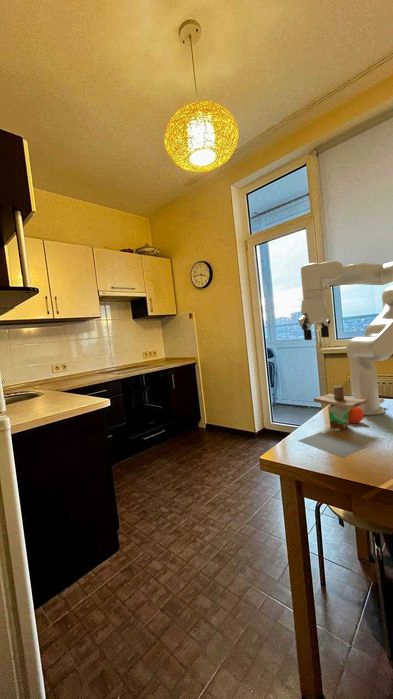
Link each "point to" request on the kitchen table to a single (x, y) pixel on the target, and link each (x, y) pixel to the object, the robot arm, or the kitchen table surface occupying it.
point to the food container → (337, 418)
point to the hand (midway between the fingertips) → (316, 338)
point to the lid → (340, 399)
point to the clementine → (354, 415)
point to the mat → (332, 444)
